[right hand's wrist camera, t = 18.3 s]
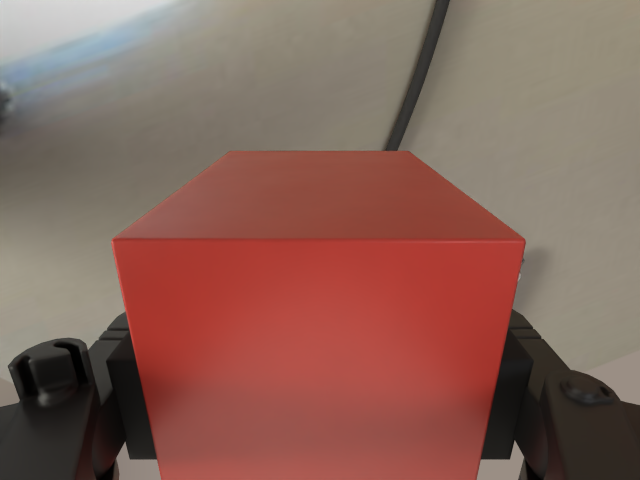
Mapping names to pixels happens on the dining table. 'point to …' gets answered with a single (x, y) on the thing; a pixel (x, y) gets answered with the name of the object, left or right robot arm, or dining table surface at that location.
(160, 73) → the dining table surface
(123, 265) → the block
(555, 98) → the dining table surface
